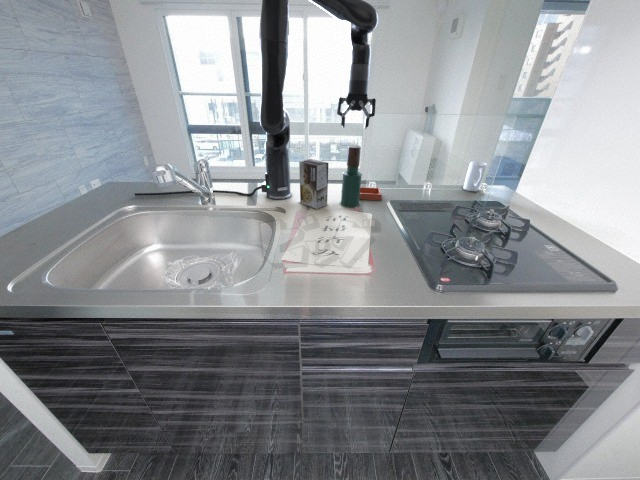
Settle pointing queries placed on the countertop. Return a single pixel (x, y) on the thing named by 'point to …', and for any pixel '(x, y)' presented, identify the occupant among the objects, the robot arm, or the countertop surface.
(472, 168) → the mug
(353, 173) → the flask
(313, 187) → the coffee box
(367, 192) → the tray
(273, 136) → the robot arm
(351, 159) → the stopper
